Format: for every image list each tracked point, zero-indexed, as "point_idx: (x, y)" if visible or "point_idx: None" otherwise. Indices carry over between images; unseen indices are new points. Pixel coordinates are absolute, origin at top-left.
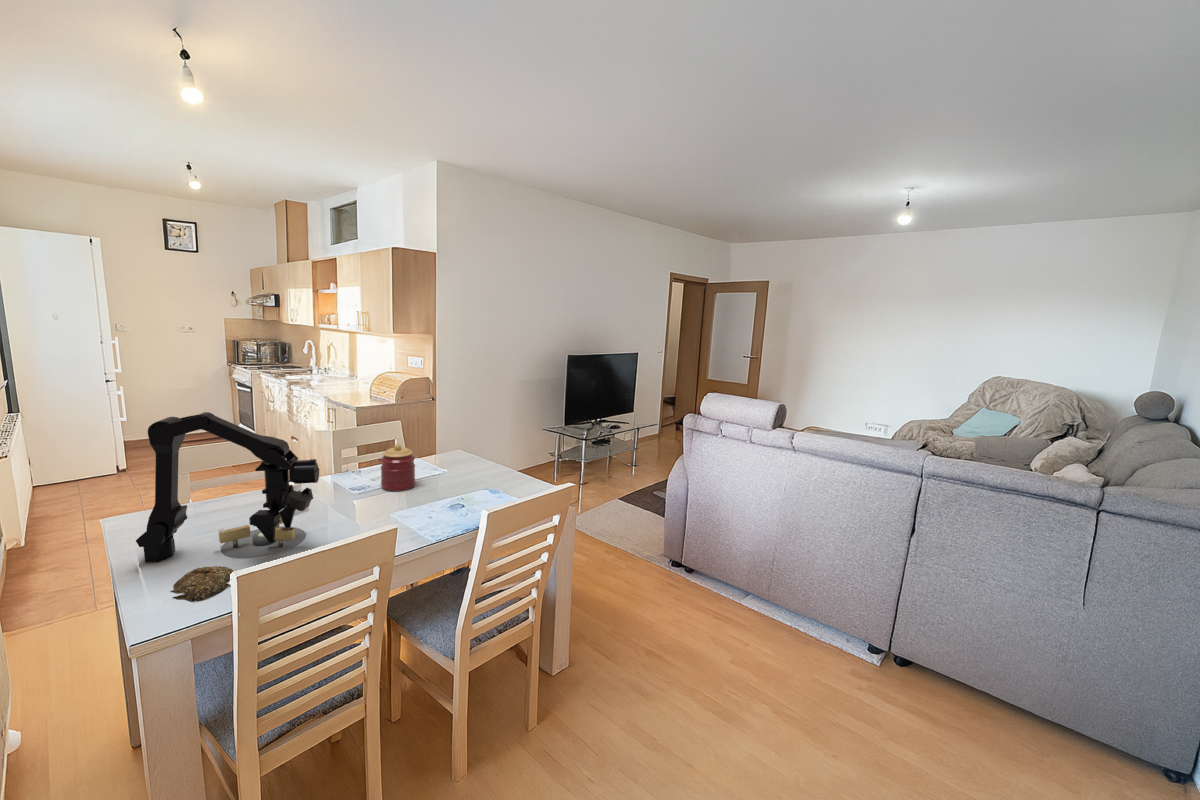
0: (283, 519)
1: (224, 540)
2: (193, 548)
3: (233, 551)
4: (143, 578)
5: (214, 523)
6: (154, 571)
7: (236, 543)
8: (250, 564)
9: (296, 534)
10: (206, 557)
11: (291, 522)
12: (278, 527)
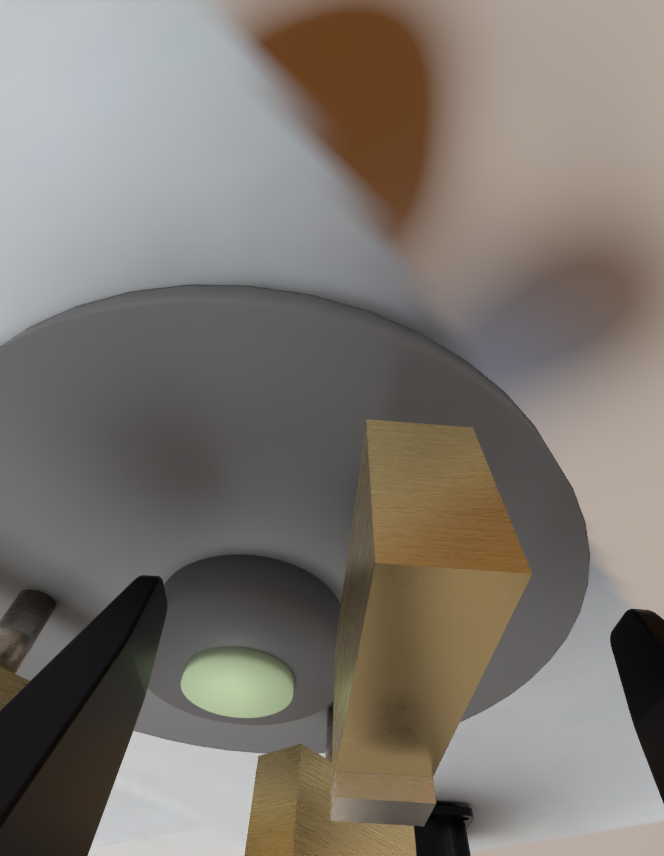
0: (98, 797)
1: (402, 826)
2: None
3: None
4: (566, 814)
5: None
6: (509, 809)
7: None
8: (603, 569)
9: (57, 442)
10: None
11: (79, 653)
12: (16, 631)
